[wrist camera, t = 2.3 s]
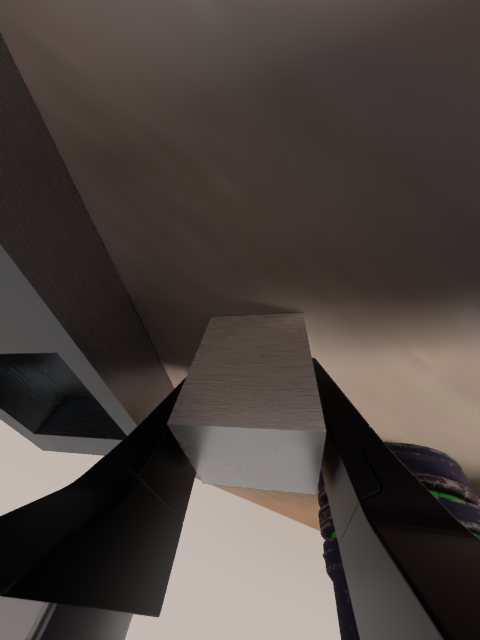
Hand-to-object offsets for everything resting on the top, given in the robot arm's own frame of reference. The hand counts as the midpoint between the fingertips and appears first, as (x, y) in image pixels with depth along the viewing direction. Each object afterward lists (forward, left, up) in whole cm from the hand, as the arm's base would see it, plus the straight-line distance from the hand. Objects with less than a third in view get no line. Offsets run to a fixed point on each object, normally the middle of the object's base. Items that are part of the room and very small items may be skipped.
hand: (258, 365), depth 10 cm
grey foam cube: (0, 0, -1) cm, 1 cm away
